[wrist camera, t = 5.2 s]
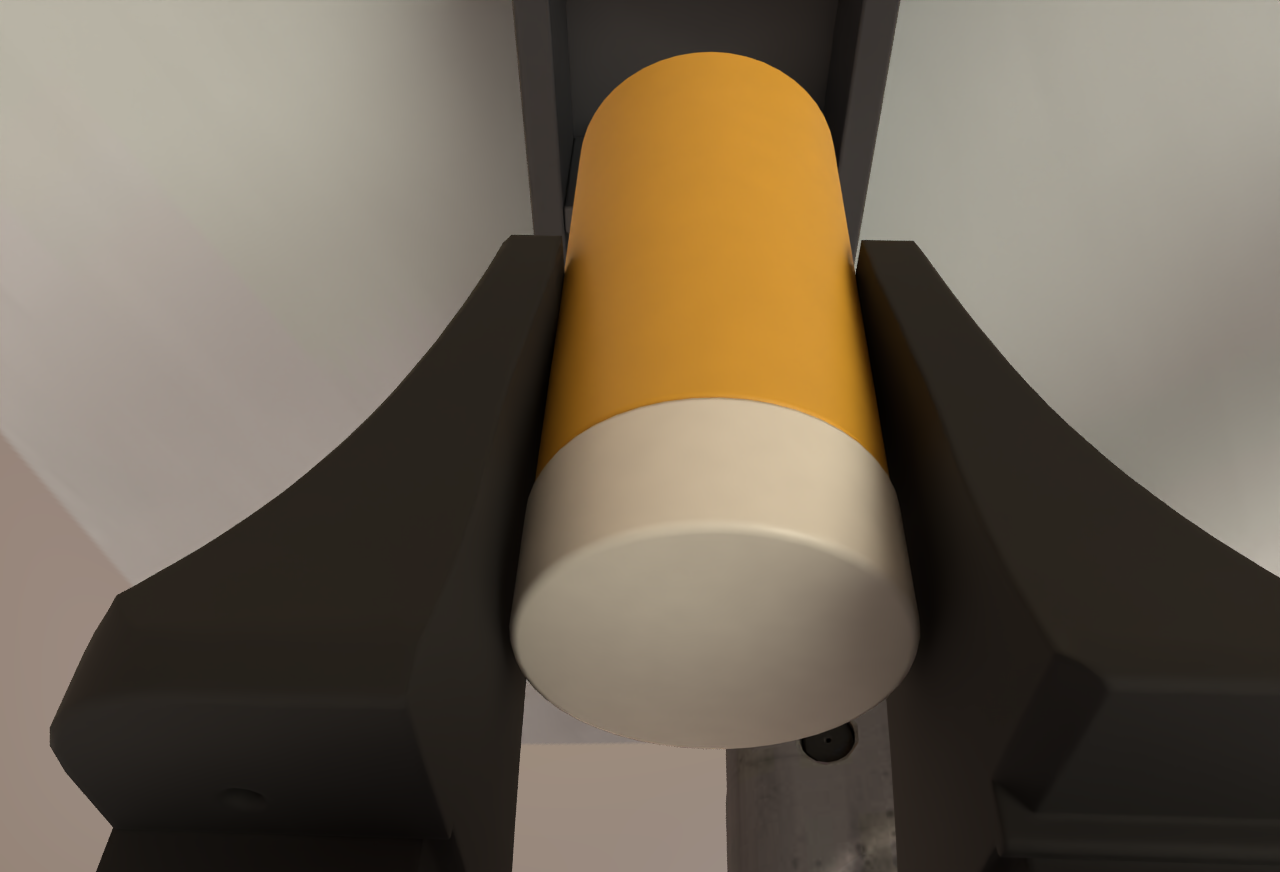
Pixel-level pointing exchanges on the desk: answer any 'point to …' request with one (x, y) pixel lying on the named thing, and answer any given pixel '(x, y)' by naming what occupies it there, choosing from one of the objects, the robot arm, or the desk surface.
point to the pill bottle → (712, 431)
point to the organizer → (682, 24)
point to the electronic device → (814, 802)
